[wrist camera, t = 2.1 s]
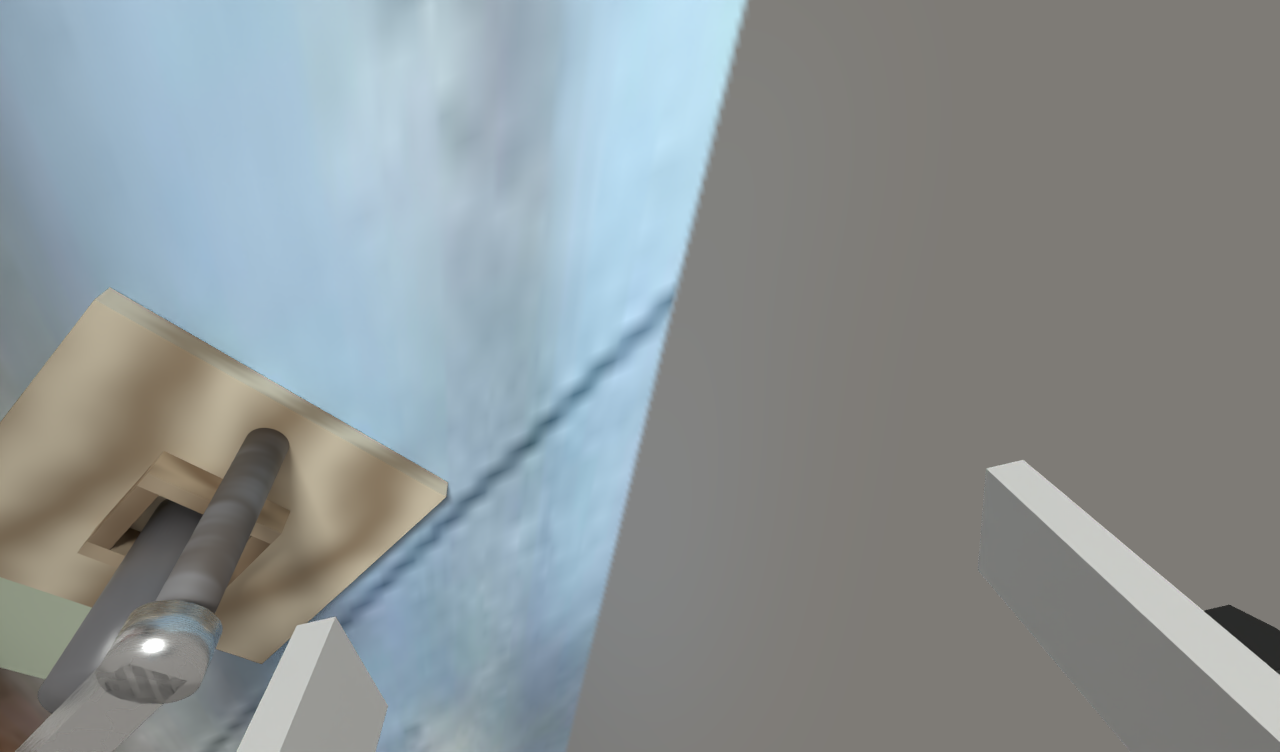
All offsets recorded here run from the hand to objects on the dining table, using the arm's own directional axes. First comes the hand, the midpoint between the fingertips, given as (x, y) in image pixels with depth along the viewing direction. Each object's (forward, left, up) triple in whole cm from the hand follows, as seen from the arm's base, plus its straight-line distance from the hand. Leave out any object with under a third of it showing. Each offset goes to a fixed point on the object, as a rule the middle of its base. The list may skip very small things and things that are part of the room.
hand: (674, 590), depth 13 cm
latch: (-3, -29, -12) cm, 31 cm away
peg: (-3, -31, -25) cm, 40 cm away
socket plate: (-3, -31, -27) cm, 41 cm away
